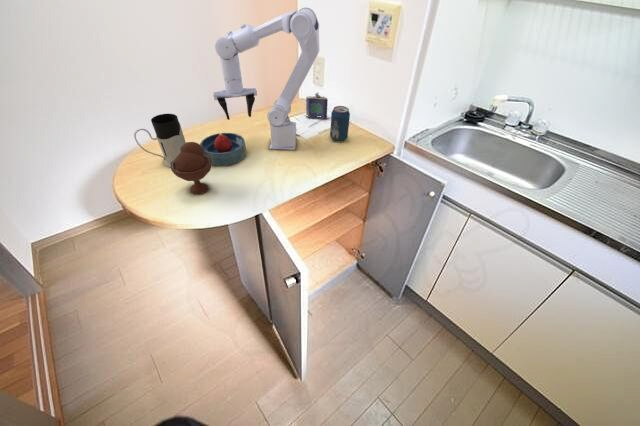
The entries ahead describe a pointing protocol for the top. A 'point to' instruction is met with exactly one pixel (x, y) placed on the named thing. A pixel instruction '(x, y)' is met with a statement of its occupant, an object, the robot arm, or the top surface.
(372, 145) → the top surface
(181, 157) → the ice cream bowl
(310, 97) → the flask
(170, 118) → the glass holder
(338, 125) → the soda can
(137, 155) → the top surface
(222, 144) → the pomegranate
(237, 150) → the bowl
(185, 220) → the top surface
